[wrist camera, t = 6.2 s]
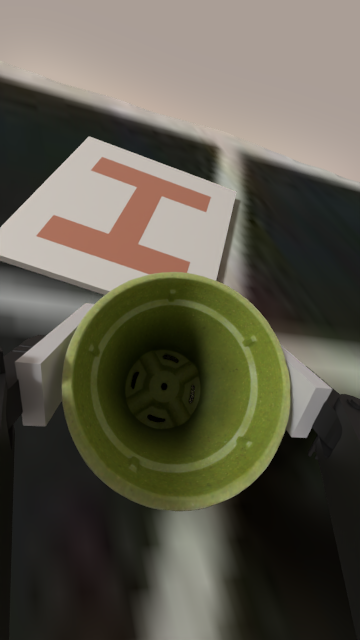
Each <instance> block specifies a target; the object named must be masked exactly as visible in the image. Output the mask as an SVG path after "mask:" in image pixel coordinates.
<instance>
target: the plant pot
mask: <svg viewBox="0 0 360 640" xmlns="http://www.w3.org/2000/svg"><path fill="white" fill-rule="evenodd" d="M164 355H170V356H173V357H175V358H177V359H178V362H177V363H176V362H174V361H171V360H168V359H163V356H164ZM136 372H139V374H138V377H137V379H136V383H135V388H134V389H132V387H131V382H132V378H133V375H134V373H136ZM163 383H166V384H167V389H166V390H162V388H161V385H162V384H163ZM192 385H193V386H194V387H195V392H194V399H193V401H192V402H191V403H189V401H188V400H189V397H190V393H191V386H192ZM290 399H291V397H290V378H289V371H288V368H287V364H286V360H285V356H284V353H283V350H282V347H281V345H280V343H279V340H278V338H277V337H276V335H275V333H274V332H273V330H272V328H271V327H270V325H269V323H268V322H267V320H266V319H265V318H264V317H263V315H262V314H261V313H260V312H259V311H258V310H257V309H256V308H255V307H254V305H253V304H251V303H250V302H249V301H248V300H247V299H246V298H244V297H243V296H242V295H241V294H239V293H238V292H236V291H234V290H233V289H231V288H230V287H228V286H226V285H224V284H222V283H220V282H218V281H215V280H212V279H209V278H207V277H204V276H200V275H196V274H191V273H183V272H163V273H155V274H149V275H146V276H142V277H139V278H135V279H132V280H129V281H127V282H125V283H123V284H121V285H120V286H118V287H116V288H114V289H113V290H111V291H110V292H108V293H107V294H106V295H105V296H103V297H102V298H101V299H100V300H99V301H98V302H97V303H96V304H95V305H94V306H93V307H92V308H91V309H90V310H89V311H88V312H87V313H86V315H85V316H84V317H83V319H82V320H81V322H80V323H79V325H78V327H77V329H76V331H75V333H74V335H73V337H72V339H71V342H70V344H69V346H68V349H67V352H66V356H65V360H64V365H63V372H62V402H63V409H64V415H65V419H66V422H67V425H68V429H69V431H70V434H71V436H72V438H73V441H74V443H75V445H76V447H77V449H78V451H79V453H80V454H81V456H82V458H83V459H84V461H85V462H86V464H87V465H88V466H89V468H90V469H91V470H92V471H93V472H94V474H95V475H96V476H97V477H98V478H100V479H101V480H102V481H103V482H104V483H105V484H106V485H108V486H109V487H110V488H111V489H113V490H114V491H116V492H117V493H119V494H120V495H122V496H124V497H126V498H128V499H130V500H132V501H134V502H136V503H138V504H141V505H144V506H147V507H150V508H155V509H160V510H172V511H191V510H199V509H202V508H207V507H209V506H212V505H215V504H218V503H221V502H223V501H225V500H228V499H230V498H232V497H234V496H236V495H237V494H239V493H240V492H241V491H243V490H244V489H246V488H247V487H248V486H250V485H251V484H252V483H253V482H254V481H255V480H256V479H257V478H258V477H259V476H260V475H261V474H262V473H263V472H264V470H265V469H266V468H267V467H268V465H269V463H270V462H271V460H272V459H273V457H274V455H275V453H276V451H277V449H278V447H279V445H280V442H281V440H282V438H283V435H284V433H285V430H286V427H287V423H288V419H289V413H290ZM149 414H150V415H152V416H155V417H158V418H162V419H165V421H164V422H153V421H150V420H149V419H148V418H147V416H148V415H149Z"/></svg>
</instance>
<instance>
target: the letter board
mask: <svg viewBox="0 0 360 640" xmlns="http://www.w3.org/2000/svg"><path fill="white" fill-rule="evenodd" d="M236 192H237V191H234V190H231V189H229V188H226V187H223V186H221V185H218V184H215V183H213V182H210V181H207V180H205V179H202V178H199V177H197V176H194V175H191V174H189V173H186V172H183V171H180V170H178V169H175V168H172V167H170V166H167V165H164V164H162V163H159V162H156V161H154V160H151V159H148V158H146V157H143V156H140V155H138V154H135V153H132V152H130V151H127V150H124V149H121V148H119V147H116V146H113V145H111V144H108V143H105V142H103V141H100V140H97V139H95V138H92V137H88V138H87V139H86V140H85V141H84V142H83V143H82V144H81V145H80V146H79V147H78V148H77V149H76V150H75V151H74V152H73V153H72V154H71V155H70V157H69V158H68V159H67V160H66V161H65V162H64V163H63V164H62V165H61V166H60V167H59V168H58V169H57V170H56V171H55V172H54V173H53V174H52V175H51V176H50V177H49V178H48V179H47V180H46V181H45V182H44V183H43V184H42V185H41V186H40V187H39V188H38V189H37V190H36V191H35V193H34V194H33V195H32V196H31V197H30V198H29V199H28V200H27V201H26V202H25V203H24V204H23V205H22V206H21V207H20V208H19V209H18V210H17V211H16V212H15V213H14V214H13V215H12V216H11V217H10V218H9V219H8V220H7V221H6V222H5V223H4V224H3V225H2V226H1V228H0V261H2V262H5V263H9V264H12V265H15V266H18V267H21V268H24V269H27V270H30V271H33V272H36V273H39V274H42V275H45V276H48V277H51V278H54V279H57V280H60V281H63V282H66V283H69V284H72V285H76V286H79V287H82V288H85V289H88V290H91V291H94V292H97V293H100V294H103V295H106V294H107V293H108V292H110V291H111V290H113V289H114V288H116V287H118V286H120V285H121V284H123V283H125V282H127V281H129V280H132V279H135V278H139V277H142V276H146V275H149V274H155V273H163V272H183V273H191V274H196V275H200V276H204V277H207V278H209V279H212V280H215V281H216V279H217V275H218V270H219V266H220V262H221V257H222V253H223V249H224V244H225V240H226V236H227V231H228V227H229V223H230V218H231V214H232V209H233V205H234V201H235V196H236Z"/></svg>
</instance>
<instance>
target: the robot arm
mask: <svg viewBox="0 0 360 640" xmlns="http://www.w3.org/2000/svg"><path fill="white" fill-rule="evenodd" d="M94 305H95V304H88V303H85V304H84V305H83V306H82V307H80V308H79V309H78V310H77V311H76V312H74V313H73V314H72V315H71V316H69V317H68V318H67V319H66V320H65V321H63V322H62V323H61V324H60V325H59V326H57V327H56V328H55V329H54V330H53V331H51V332H50V333H49V334H48V335H47V336H46V335H37V336H34V337H32V338H29V339H27V340H26V341H24V342H23V343H22V344H20V346H18V347H16V348H15V349H14V350H13V351H11V352H9V353H8V354H7V355H5V356H4V357H3V352H2V349H1V347H0V640H9V620H10V584H11V549H12V513H13V477H14V441H15V430H14V423H15V421H16V420H17V419H18V418H19V416H20V415H21V414H22V419H23V425H26V426H46V425H47V423H48V422H49V420H50V419H51V417H52V415H53V414H54V412H55V410H56V409H57V407H58V406H59V404H60V402H61V401H62V372H63V365H64V360H65V356H66V352H67V349H68V346H69V344H70V342H71V339H72V337H73V335H74V333H75V331H76V329H77V327H78V325H79V323H80V322H81V320H82V319H83V317H84V316H85V315H86V313H87V312H88V311H89V310H90V309H91V308H92V307H93V306H94ZM281 347H282V350H283V353H284V356H285V360H286V364H287V368H288V371H289V378H290V397H291V399H290V413H289V419H288V423H287V427H286V430H287V431H288V433H289V434H290V436H291V437H298V438H307V436H308V434H309V432H310V430H311V429H312V428H313V429H314V430H315V431H316V433H317V434H318V435H317V437H316V438H315V440H314V442H313V444H312V446H311V447H310V449H309V451H308V456H310V457H311V455H312V453H313V452H317V455H316V456H315V459H317V460H318V461H319V466H320V470H321V475H322V480H323V484H324V489H325V494H326V498H327V503H328V507H329V512H330V517H331V521H332V526H333V531H334V535H335V540H336V545H337V549H338V554H339V558H340V563H341V568H342V572H343V577H344V582H345V586H346V591H347V595H348V600H349V605H350V609H351V614H352V619H353V623H354V628H355V632H356V637H357V640H360V399H358V398H356V397H353V396H350V395H346V394H341V395H340V394H339V393H337V392H336V391H335V390H334V389H333V388H332V387H330V386H329V385H328V384H327V383H326V382H325V381H323V380H322V379H320V377H319V376H317V375H316V374H314V372H313V371H312V370H310V369H309V368H308V367H307V366H305V365H304V364H303V363H301V362H300V361H299V360H298V359H297V358H296V357H294V356H293V355H292V354H291V353H290V352H289V351H287V350H286V349H285V348H284V347H283V346H282V345H281Z"/></svg>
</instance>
